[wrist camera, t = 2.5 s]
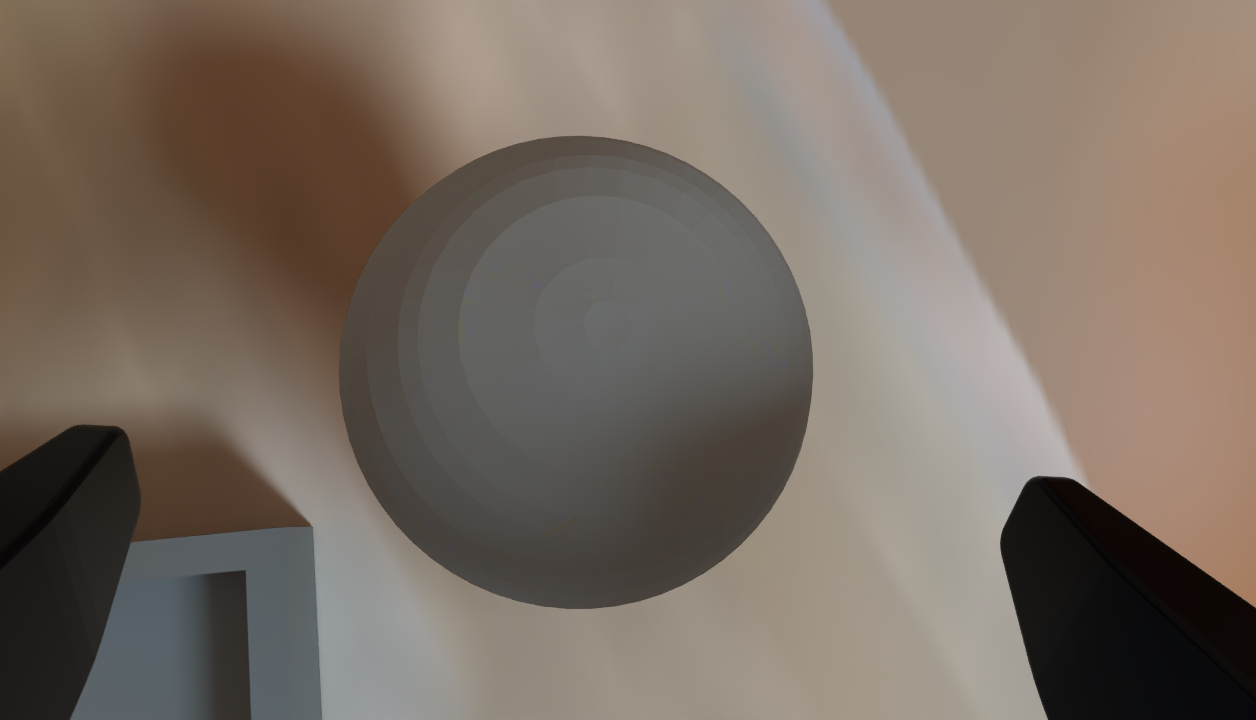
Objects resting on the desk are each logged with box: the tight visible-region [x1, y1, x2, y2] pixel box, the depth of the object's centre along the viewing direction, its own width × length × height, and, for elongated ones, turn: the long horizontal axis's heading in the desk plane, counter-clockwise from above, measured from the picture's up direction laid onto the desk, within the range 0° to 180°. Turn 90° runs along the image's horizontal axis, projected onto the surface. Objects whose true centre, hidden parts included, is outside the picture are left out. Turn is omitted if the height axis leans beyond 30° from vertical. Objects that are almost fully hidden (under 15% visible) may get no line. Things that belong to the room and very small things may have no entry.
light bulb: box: [339, 136, 813, 609], centre depth 14 cm, size 5×6×10 cm
